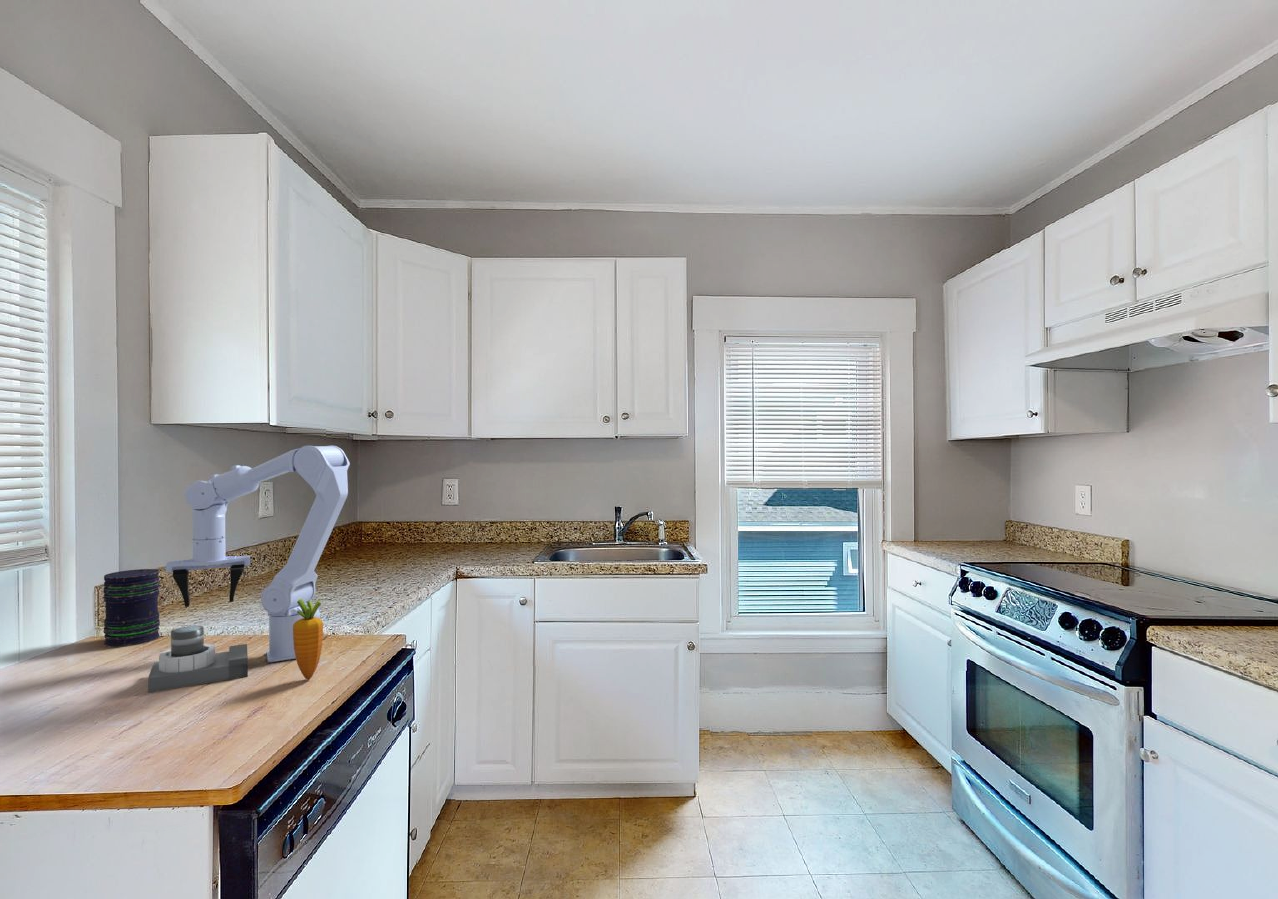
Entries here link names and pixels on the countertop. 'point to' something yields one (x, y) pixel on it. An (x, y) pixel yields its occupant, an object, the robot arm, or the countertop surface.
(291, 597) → the robot arm
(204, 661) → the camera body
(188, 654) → the lens
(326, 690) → the countertop surface
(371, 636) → the countertop surface
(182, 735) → the countertop surface
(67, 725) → the countertop surface
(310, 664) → the carrot
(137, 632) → the storage jar
